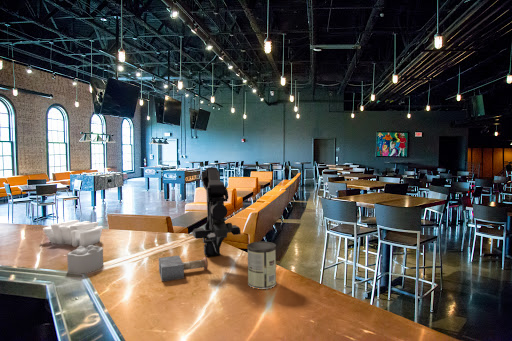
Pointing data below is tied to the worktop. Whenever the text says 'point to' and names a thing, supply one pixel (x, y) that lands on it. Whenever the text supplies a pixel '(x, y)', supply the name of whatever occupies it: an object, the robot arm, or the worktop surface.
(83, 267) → the lumpy-topped squat cylinder
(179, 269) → the block
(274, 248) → the coffee can
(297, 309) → the worktop surface
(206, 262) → the pin
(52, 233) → the wavy white extrusion
